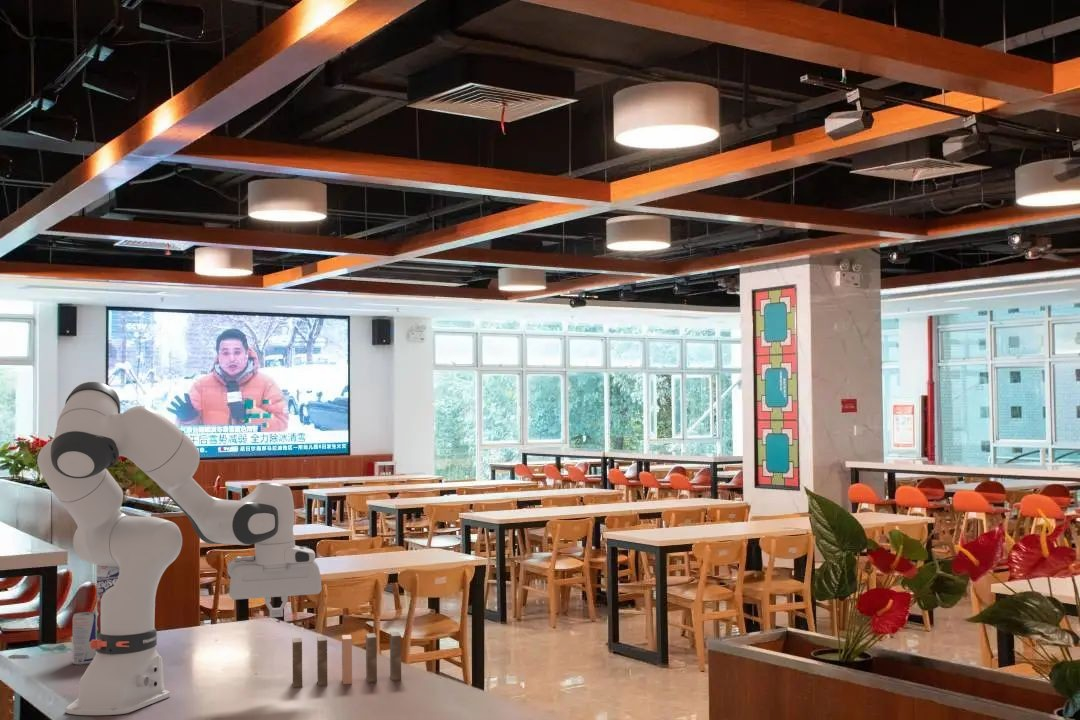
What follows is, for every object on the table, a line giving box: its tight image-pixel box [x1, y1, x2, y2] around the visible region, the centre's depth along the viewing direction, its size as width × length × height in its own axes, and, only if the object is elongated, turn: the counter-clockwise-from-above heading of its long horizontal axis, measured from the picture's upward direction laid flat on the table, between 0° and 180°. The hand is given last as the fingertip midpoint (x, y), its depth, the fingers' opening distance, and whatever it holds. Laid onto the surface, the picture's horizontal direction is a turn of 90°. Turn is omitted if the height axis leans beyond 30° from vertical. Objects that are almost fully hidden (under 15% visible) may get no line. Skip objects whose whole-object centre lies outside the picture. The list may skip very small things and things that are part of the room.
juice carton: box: [96, 565, 120, 640], centre depth 291 cm, size 9×10×27 cm
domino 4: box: [365, 632, 378, 683], centre depth 256 cm, size 2×5×10 cm, turn 14°
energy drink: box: [72, 611, 97, 666], centre depth 279 cm, size 5×5×12 cm
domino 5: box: [389, 631, 402, 682], centre depth 257 cm, size 2×5×10 cm, turn 14°
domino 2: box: [316, 635, 328, 687], centre depth 253 cm, size 2×5×10 cm, turn 13°
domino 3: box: [341, 634, 353, 685], centre depth 254 cm, size 2×5×10 cm, turn 12°
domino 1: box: [291, 637, 303, 689], centre depth 252 cm, size 2×5×10 cm, turn 14°
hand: (276, 616), depth 251 cm, fingers closed
